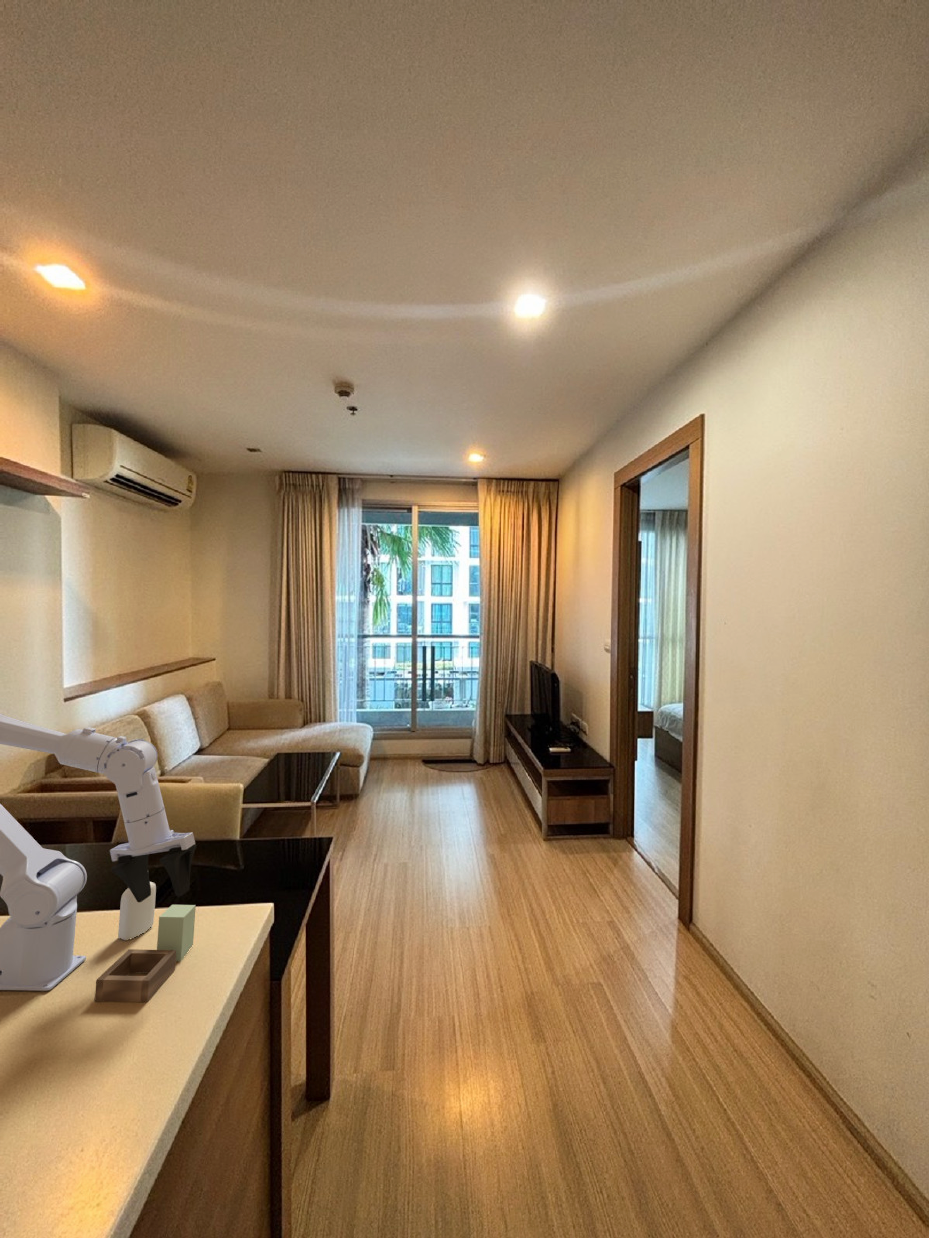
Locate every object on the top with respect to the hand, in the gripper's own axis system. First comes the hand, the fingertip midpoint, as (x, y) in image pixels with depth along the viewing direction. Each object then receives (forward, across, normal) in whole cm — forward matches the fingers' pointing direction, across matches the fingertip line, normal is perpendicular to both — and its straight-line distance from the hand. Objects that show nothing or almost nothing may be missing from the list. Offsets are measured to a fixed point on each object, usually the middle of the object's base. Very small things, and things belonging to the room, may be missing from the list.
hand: (163, 895), depth 83 cm
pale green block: (+11, +3, -2) cm, 11 cm away
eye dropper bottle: (+9, +14, -6) cm, 17 cm away
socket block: (+10, +2, +6) cm, 12 cm away
